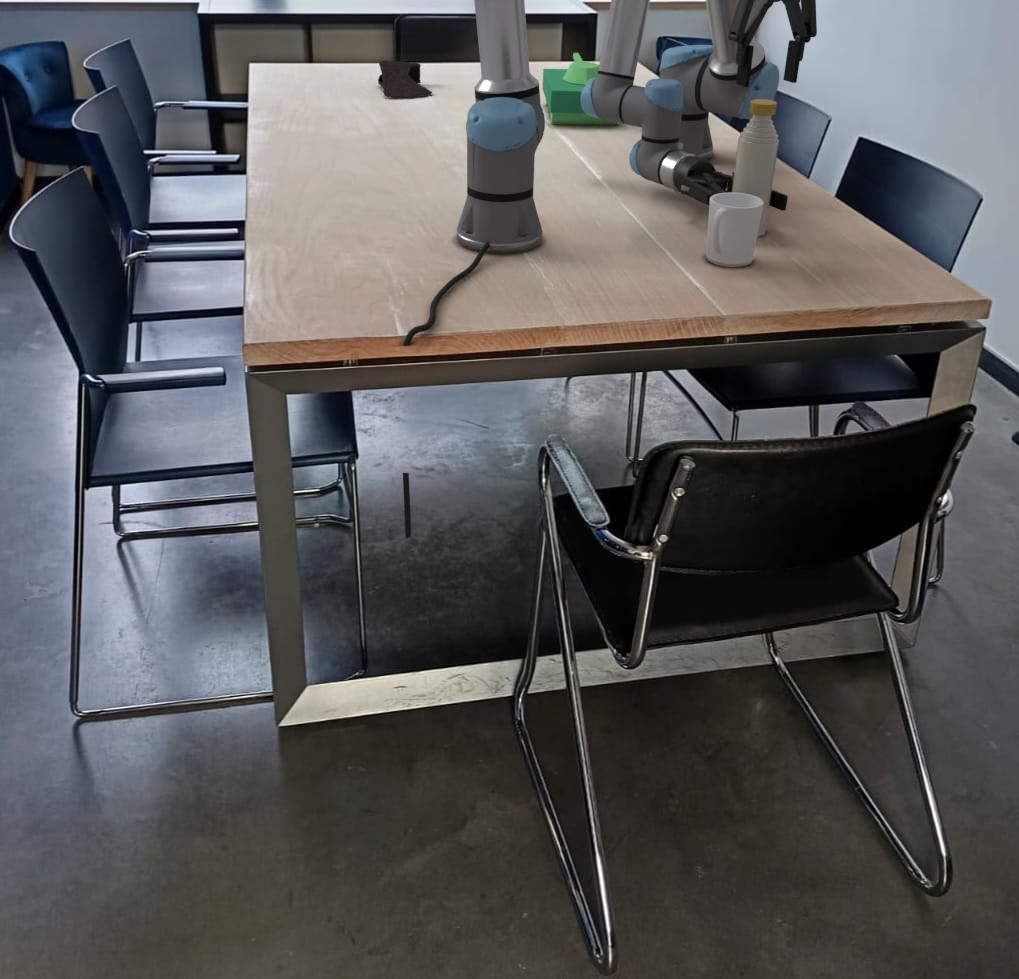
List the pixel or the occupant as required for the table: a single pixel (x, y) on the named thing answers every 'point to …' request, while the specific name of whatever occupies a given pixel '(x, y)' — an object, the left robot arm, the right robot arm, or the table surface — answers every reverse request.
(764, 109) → the cap
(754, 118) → the bottle
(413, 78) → the axe head
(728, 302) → the table surface
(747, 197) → the mug
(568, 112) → the toy tank
